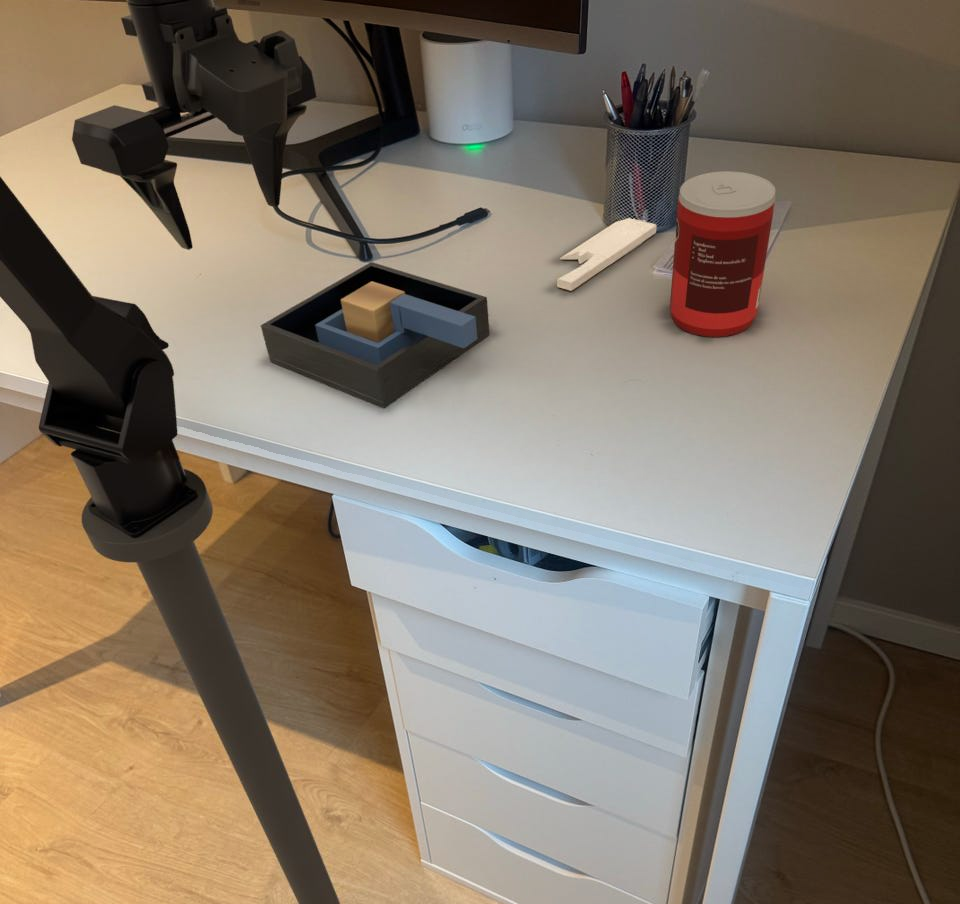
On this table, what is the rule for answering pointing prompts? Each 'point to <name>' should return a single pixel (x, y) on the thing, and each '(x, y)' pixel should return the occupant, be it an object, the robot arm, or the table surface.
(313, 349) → the black square tray
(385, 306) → the block
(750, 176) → the canned food
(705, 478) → the table surface
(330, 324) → the scoop
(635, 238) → the white plastic blade
